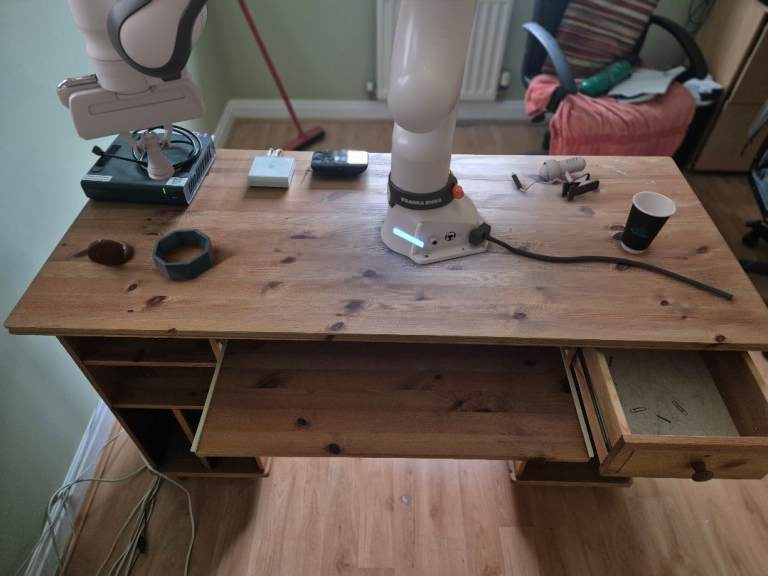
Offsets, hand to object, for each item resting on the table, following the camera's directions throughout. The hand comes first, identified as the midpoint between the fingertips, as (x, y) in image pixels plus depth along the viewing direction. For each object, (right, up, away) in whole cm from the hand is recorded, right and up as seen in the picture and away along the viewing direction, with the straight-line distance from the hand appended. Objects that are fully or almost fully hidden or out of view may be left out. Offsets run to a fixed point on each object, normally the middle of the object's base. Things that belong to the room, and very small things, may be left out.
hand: (154, 149), depth 87 cm
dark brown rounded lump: (-14, -19, +11) cm, 26 cm away
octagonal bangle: (+1, -19, +11) cm, 22 cm away
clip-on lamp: (+80, 0, +32) cm, 86 cm away
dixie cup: (+92, -16, +17) cm, 95 cm away
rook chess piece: (0, -4, +4) cm, 5 cm away
